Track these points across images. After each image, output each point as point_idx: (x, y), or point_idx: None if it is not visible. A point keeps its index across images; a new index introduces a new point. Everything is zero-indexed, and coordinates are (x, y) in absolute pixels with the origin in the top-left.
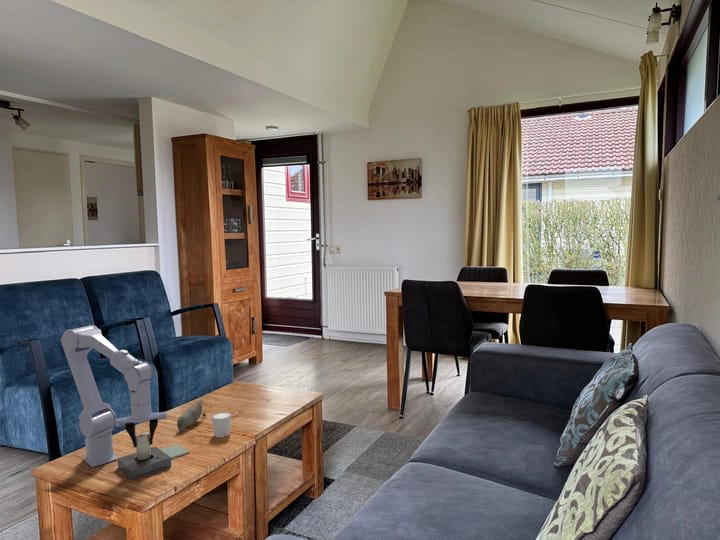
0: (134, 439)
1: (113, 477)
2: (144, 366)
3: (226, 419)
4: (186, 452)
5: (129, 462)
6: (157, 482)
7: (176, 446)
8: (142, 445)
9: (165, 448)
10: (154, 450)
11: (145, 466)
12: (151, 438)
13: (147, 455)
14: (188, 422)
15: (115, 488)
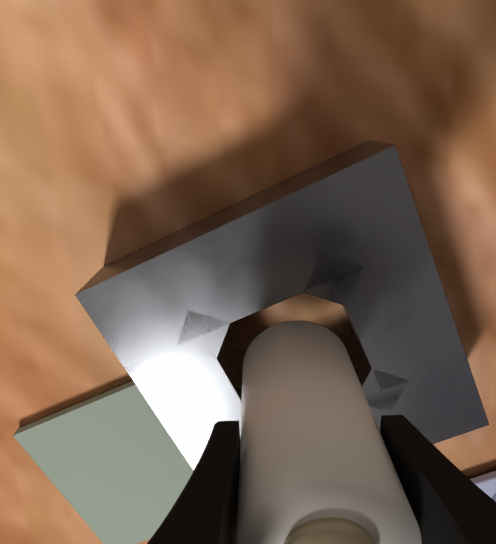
0: (436, 479)
1: (491, 245)
2: None
3: None
4: (30, 428)
5: (406, 320)
6: (169, 11)
7: (113, 525)
8: (317, 400)
9: None
10: None
11: (273, 199)
12: (211, 470)
13: (265, 343)
14: None
15: (491, 34)
